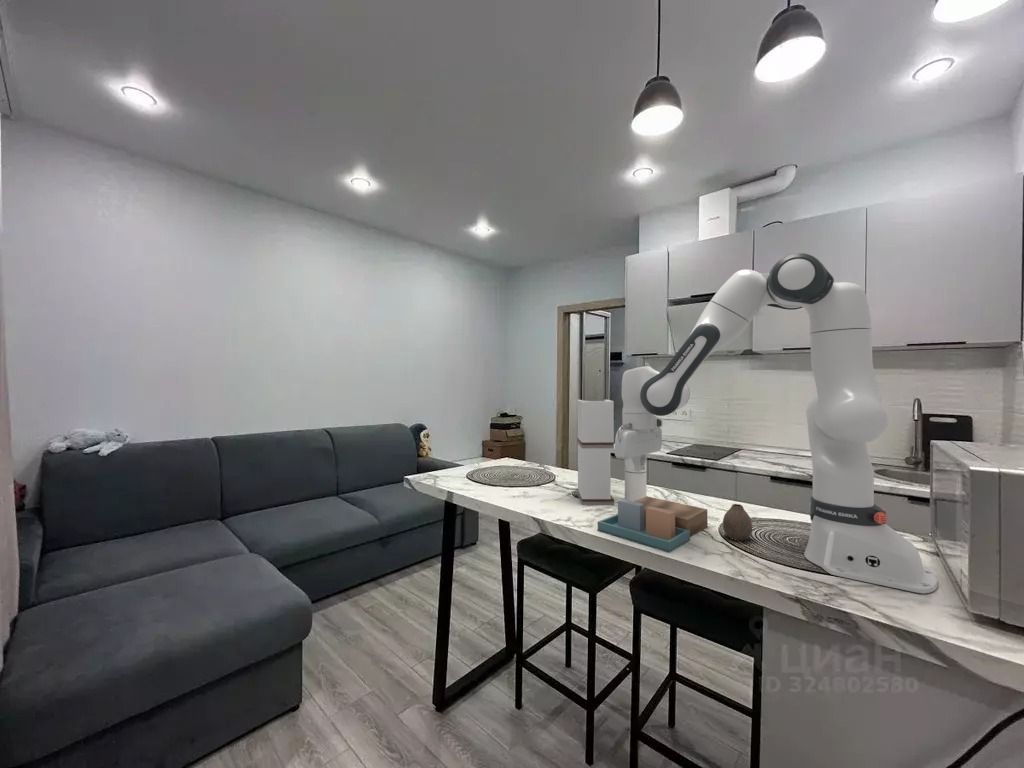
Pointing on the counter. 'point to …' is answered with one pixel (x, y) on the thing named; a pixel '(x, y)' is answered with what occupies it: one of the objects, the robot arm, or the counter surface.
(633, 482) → the cylindrical container
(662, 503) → the block
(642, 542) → the tray
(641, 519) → the slate tile
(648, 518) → the terracotta tile
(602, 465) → the white stacked pillar
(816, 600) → the counter surface
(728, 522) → the vase
